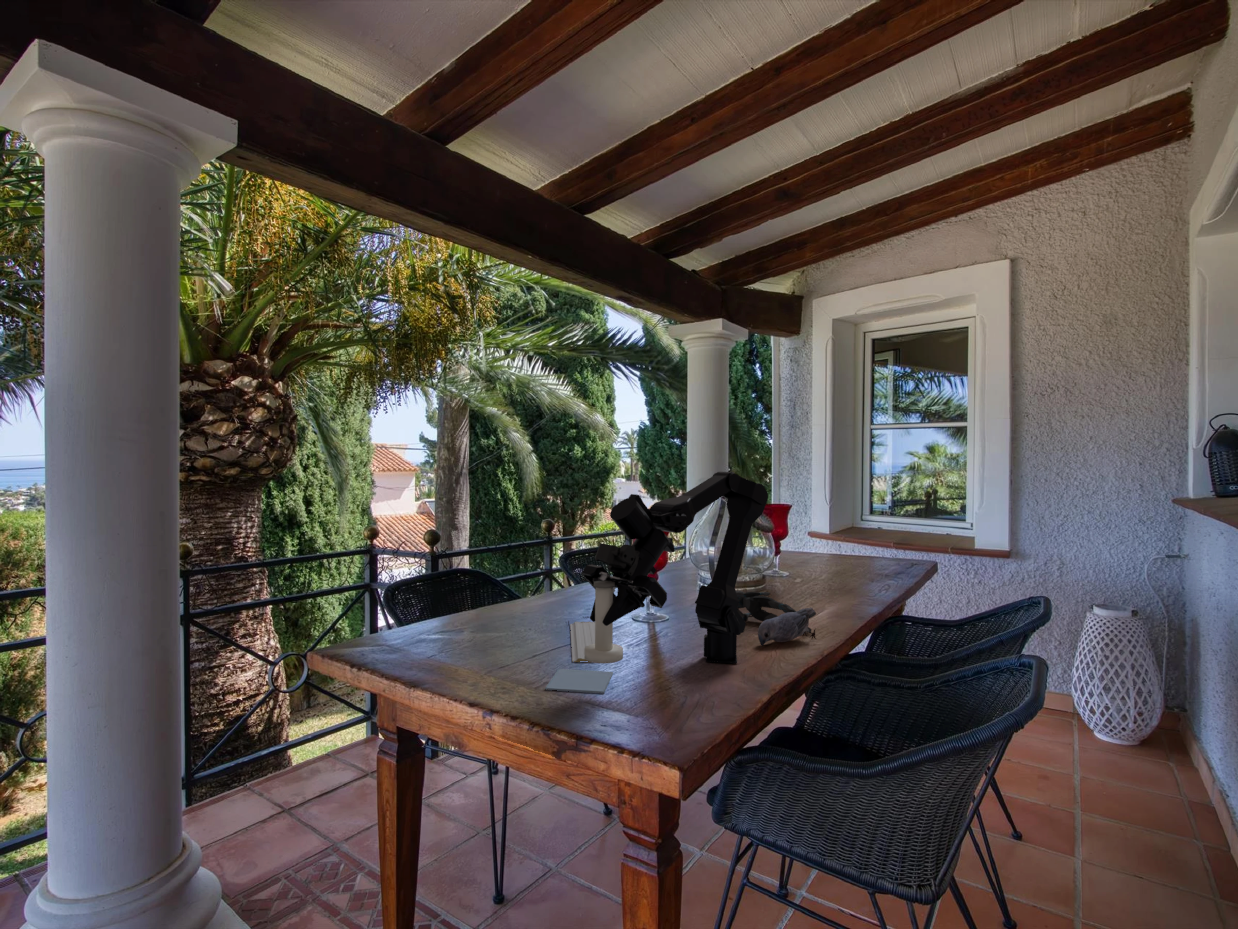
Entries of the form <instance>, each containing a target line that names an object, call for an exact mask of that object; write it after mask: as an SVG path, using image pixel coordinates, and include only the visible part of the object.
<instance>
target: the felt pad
mask: <svg viewBox="0 0 1238 929" xmlns="http://www.w3.org/2000/svg"><path fill="white" fill-rule="evenodd" d="M613 674H614V672H613V671H604V670H603V671H602V670H588V669H587V670H586V669H585V670H584V669H570V668H569V669H568V668H558V669H557V671H556V673H555V674H554V675H553V676H552V678H551V679H550V681H549V682H548V684H546V686H545V687H544V688H545V689H546V690H545V689H544V690H545V691H552V690H557V691H556V692H568V691H569V692H572V693H585V694H586V693H587V694H601V695H604V694H605V693H606V690H607V688H608V685H609V684H610V681H611V679H612V678H613ZM547 689H548V690H547ZM569 692H568V693H569Z"/></svg>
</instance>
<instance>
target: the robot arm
mask: <svg viewBox="0 0 1238 929" xmlns="http://www.w3.org/2000/svg"><path fill="white" fill-rule="evenodd" d="M721 498H724V499H726V510H727V513H728V516H729V517H728V518H729V519H728V523H727V527H726V531H725V534H724V537H723V541H722V545H721V549H720V551H719V554H718V559H717V562H716V566H715V568H714V569H715V570H714V572H713V576H712V580H711V581H709V583H708V584H707V585H702V584H701V586H700V587H699V589H698V595H697V598H696V600H695V601H694V604H695V614H696V617H697V620H698V621H697V622H698V626H699V628H700V629H706V634H703V657H704V658H705V662H707V663H719V664H720V663H721V664H722V663H723V664H738V656H737V645H738V644H737V641H738V640H737V639H738V636H740V635H741V634H742V633H743V634H744V632H745V629H746V626H747V625H746V624H747V623H746V621H744V620H743V618H742V617H741V616H740V614H739V613H738V612H737V608H738V598H737V594H736V591H737V590H736V584H737V580H738V576H739V574H740V573H739V572H740V569H741V566H742V562H743V559H744V554H745V551H746V548H747V544H748V540H749V536H750V533H751V530H752V526H753V524H754V523H755V522H756V521H757V520H758V519H759V518H760V517H761V516H762V515H763V513H764V510H765V508H766V505H767V504H768V499H769V493H768V490H767V489H766V487H765V485H763V484H762V483H760V482H758V483H757V482H755V481H752V480H750V479H747V478H745V477H742V476H740V475H739V474H738V473H735V472H734V471H733V472H732V471H717V472H714V474H713V475H712V476H710V477H709V478H708V479H706V480H704V481H702V482H701V483H700V484H698V485H696V486H694V487H693V488H691V489H690V490H688V491H686V492H685V493H683V494H681V495H679V496H676V497H675V496H674V497H670V498H665V499H662V500H658V501H657V502H654V503H653V504H652V505H651V506H650V508H648V507H647V505H646V503H644V501H643V498H641V496H640V495H639V494H635V493H634V494H632V493H631V494H630V495H629V496H628V497H627V498H624V499H622V500H621V501H619V502H618V503H617V504H614V506H613V507H612V508H611V511H610V513H609V516H610V518H611V519H612V521H613V522H614V523H615V525H616V526H617V527H618V528H619V530H621V533H623V535H624V536H625V537H626V538H627V539H628V540H634V542H633V543H632V544H626V543H623V544H622V545H621V546H620V547H619V546H616V545H612V544H609V543H607V544H606V543H599V546H598V548H597V552H596V554H595V558H594V560H595V561H597V562H602V563H603V564H605V565H607V567H606V568H607V570H609V572H610V573H612V575H610V573H609V572H608V571H607V570H606V569H605V567H604V566H600V565H595V564H586V565H585V567H584V569H582V571H581V576H583V578H584V579H585V580H586V581H587V582H588V584H590V585H591V587H592V588H593V589H594V590H595V587H594V582H596V581H612V582H615V586H614V587H613V604H612V605H611V607H610V609H609V610H608V612H607V614H606V616H605V618H604V620H603V624H604V625H605V626H608V625H609V624H611V623H613V624H614V622H616V621H617V620H619V619H620V618H623V617H624V616H626V615H628V614H630V613H632V612H634V611H637V610H638V609H640V608H645V607H646V604H645V600H646V599H647V598H649V597H650V598H649V599H648V601H649V604H650V605H651V606H652V607H655V608H660V609H662V608H663V607H664V606H665V604H666V602H667V601H668V593H667V591H666V590H665V589H664V588H663V586H662V585H661V583H660V582H659V581H658V580H657V579H656V577H651V576H649V575H655V574H656V572H657V568H656V567H655V565H657V564H656V563H657V562H658V560H659V559H660V558H661V556H662V554H663V552H670V553H674V552H675V544H674V538H672V537H668V536H667V535H666V534H665V532H667V533H675V534H681V533H683V532H685V530H686V529H687V528H688V527H689V526H691V525H692V524H693V522H694V520H695V517H696V515H698V513H699V512H701V511H702V510H704V509H705V508H707V507H708V506H710V505H712V504H713V503H715V502H716V501H718V500H719V499H721ZM616 589H617V593H616V594H615V592H616ZM651 606H650V607H651ZM591 609H592V610H591V613H590V616H589V620H590V621H591V622H595V600H594V602H593V606H592V608H591Z"/></svg>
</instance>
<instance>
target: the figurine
mask: <svg viewBox="0 0 1238 929" xmlns="http://www.w3.org/2000/svg"><path fill="white" fill-rule="evenodd" d="M736 594H737V598H738V608H737V612H738V613H739V614H740V616H741V617H742V618H743V620H744V621H745V622H746V621H747V620H748V619H749V617H751V616H752V617H753V618H754V619H755V620H758V621H761V622H763V621H765V620H767V619H772V618H775V617H778V616H779V615H777V614H776V613H775V614H774V613H772V612H769V611H766V610H765V609H763V608H767V609H775V610H778V611H779V610H780V611H782V612H783V614H784V613H788V612H796V611H797V610H795V609H794V608H793V607H792V606H790V605H789V604H787V603H783V602H780V601H777V600H775V599H774V598H771V597H772V596H773V595H772V593H771V592H769V591H762V592H757V591H746V592H745V591H741V590H736ZM744 608H745V610H747V611H748V612H744V613H743V612H742V611H741V610H740V609H744ZM816 615H817V612H816V611H815V612H813V613H812V614H810V615H809V619H811V618H814V617H815V616H816ZM808 629H809V630H810V632H811V633H812V628H810V627H809V626H808ZM806 633H808V632H807V631H806Z"/></svg>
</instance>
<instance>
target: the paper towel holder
mask: <svg viewBox="0 0 1238 929" xmlns="http://www.w3.org/2000/svg"><path fill="white" fill-rule="evenodd" d="M614 586H615V582H612V581H596V582H594V587H595V589H594V595H595V596H594V597H595V598H594V601H595V644H591V645H588V646H586V647H585V649H584V658H585V659H586V660H587V661H589V662H588V663H595V664H601V665H602V664H604V665H605V664H613V663H618V662H621V661H622V660H623V658H624V648H623V646H621V645H619V644H617V643H613V641H614V640H613V638H614V637H613V635H614V634H613V633H614V632H613V630H614V629H613V627H614V622H613V623H611V624H609V625H608V626H605V625H604V624H603V620H604V618H605V616H606V614H607V612H608V610H609V609H610V607H611V605H612V604H613V587H614Z"/></svg>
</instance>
